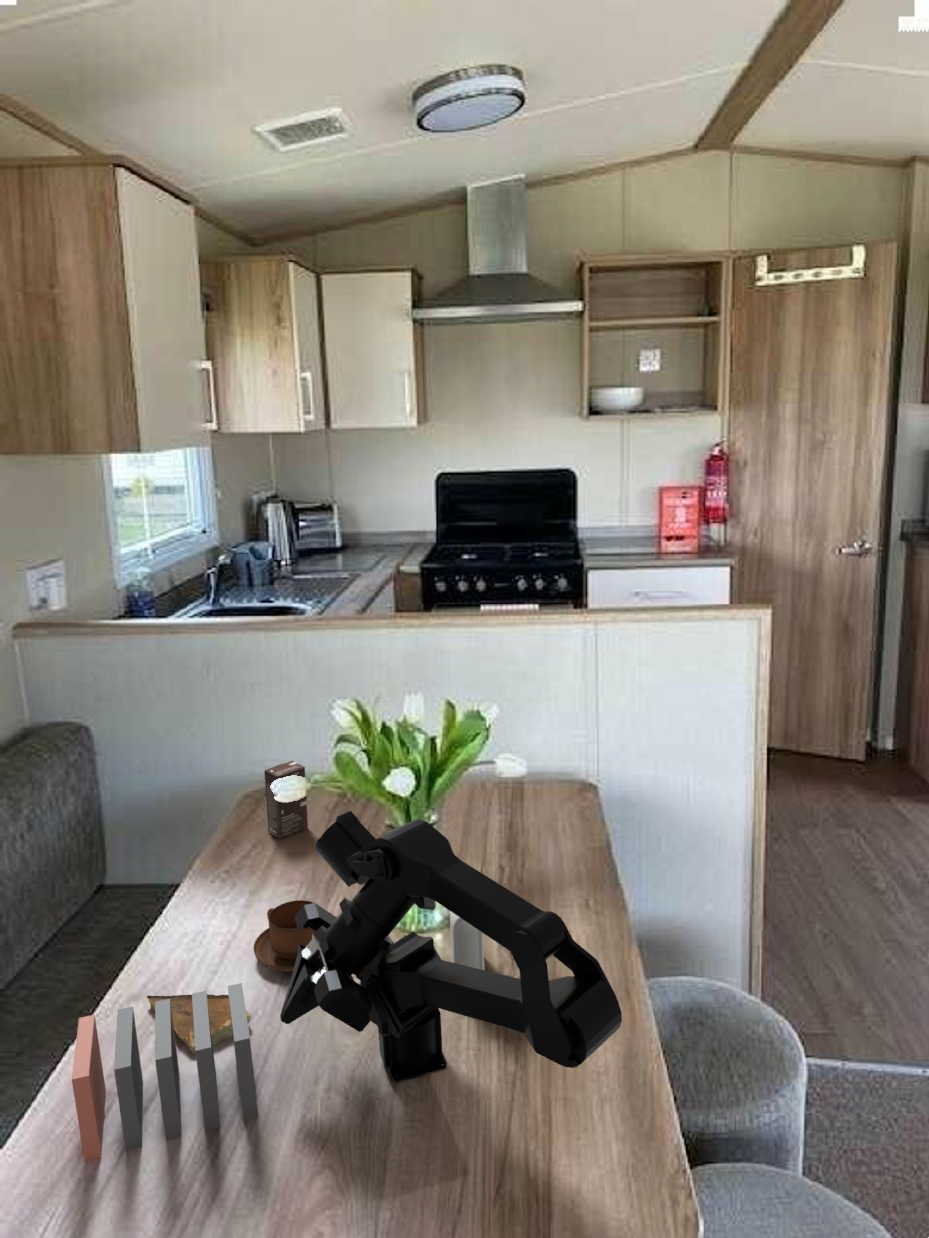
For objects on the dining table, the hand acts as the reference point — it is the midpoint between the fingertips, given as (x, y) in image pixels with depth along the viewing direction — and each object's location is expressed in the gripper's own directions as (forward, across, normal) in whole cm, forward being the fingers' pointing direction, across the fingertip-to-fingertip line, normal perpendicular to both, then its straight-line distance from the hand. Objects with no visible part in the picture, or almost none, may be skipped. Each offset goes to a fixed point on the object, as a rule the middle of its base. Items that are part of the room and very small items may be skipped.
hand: (283, 1020), depth 105 cm
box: (0, +62, -11) cm, 63 cm away
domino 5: (+9, 0, -2) cm, 9 cm away
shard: (+13, +13, +2) cm, 18 cm away
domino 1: (+20, 0, +10) cm, 22 cm away
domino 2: (+17, 0, +7) cm, 18 cm away
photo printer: (-12, +11, -23) cm, 29 cm away
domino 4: (+11, 0, +1) cm, 11 cm away
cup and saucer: (+2, +24, -9) cm, 26 cm away
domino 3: (+14, 0, +4) cm, 15 cm away
